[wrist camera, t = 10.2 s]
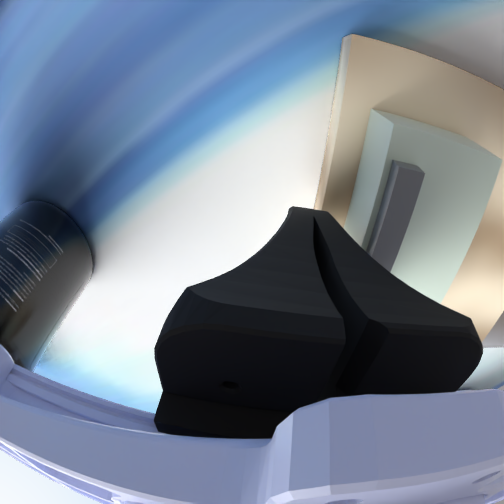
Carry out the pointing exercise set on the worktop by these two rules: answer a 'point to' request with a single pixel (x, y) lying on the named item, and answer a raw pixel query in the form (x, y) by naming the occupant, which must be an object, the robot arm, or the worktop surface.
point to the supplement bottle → (38, 277)
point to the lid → (419, 199)
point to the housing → (434, 113)
